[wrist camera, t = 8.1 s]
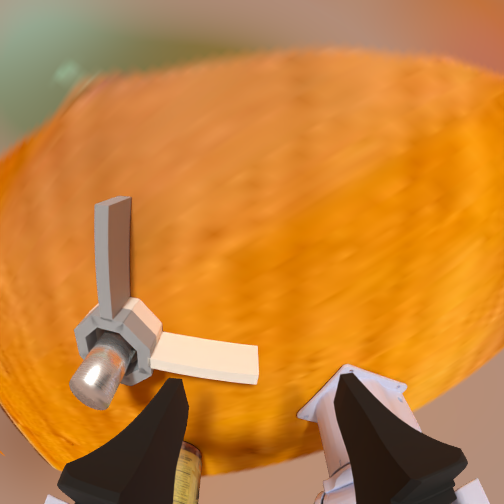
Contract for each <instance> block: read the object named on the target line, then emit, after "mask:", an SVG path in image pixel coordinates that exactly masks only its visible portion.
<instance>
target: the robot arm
mask: <svg viewBox="0 0 504 504" xmlns="http://www.w3.org/2000/svg"><path fill="white" fill-rule="evenodd" d="M350 370H351V371H350ZM406 388H407V385H406V384H405V383H402V382H398V381H395V380H392V379H389V378H386V377H383V376H380V375H378V374H375V373H372V372H369V371H366V370H363V369H361V368H358V367H355V366H352V365H350V364H345V365H343V366H342V367H341V368H340V369H339V370H338V372H337V373H336V374H335V375H334V376H333V377H332V378H331V379H330V380H329V381H328V382H327V384H326V385H325V386H324V387H323V388H322V389H321V390H320V391H319V392H318V393H317V394H316V395H315V396H314V397H313V398H312V399H311V400H310V401H309V402H308V403H307V404H306V405H305V406H304V407H303V408H302V409H301V410H300V411H299V412H298V413H297V417H298V418H300V419H304V420H308V421H313V422H317V423H318V426H319V431H320V435H321V440H322V444H323V449H324V454H325V458H326V462H327V468H328V472H329V477H330V478H329V479H327V480H325V481H323V486H324V491H322V492H320V493H319V494H318V496H317V497H316V499H315V502H314V504H490V503H489V501H488V499H487V497H486V494H485V492H484V490H483V488H482V486H481V484H480V482H479V480H478V478H476V479H474V480H472V481H471V482H469V483H467V484H465V485H464V486H462V487H461V488H459V489H457V490H456V491H454V490H453V487H454V486H455V482H454V480H453V479H454V478H455V477H456V476H458V475H459V474H460V473H461V472H462V471H463V470H464V469H465V468H466V466H467V464H468V462H467V459H466V457H465V456H464V454H463V452H462V450H461V449H460V448H457V447H454V446H451V445H448V444H445V443H442V442H440V441H437V440H435V439H433V438H431V437H429V436H427V435H425V434H423V433H422V431H421V429H420V427H419V425H418V423H417V421H416V419H415V417H414V415H413V413H412V411H411V409H410V407H409V406H408V404H407V402H406V400H405V398H404V396H403V395H402V393H403V392H404V391H405V390H406ZM188 410H189V405H188V402H187V398H186V394H185V390H184V386H183V382H182V379H176V378H169V379H167V381H166V382H165V383H164V385H163V386H162V387H161V389H160V390H159V391H158V393H157V394H156V395H155V397H154V398H153V399H152V400H151V401H150V403H149V404H148V405H147V406H146V407H145V409H144V410H143V411H142V412H141V413H140V414H139V415H138V416H137V417H136V418H135V419H134V420H133V421H132V422H131V423H130V424H129V425H128V426H127V427H126V428H125V429H124V430H123V431H122V432H120V433H119V434H118V435H117V436H115V437H114V438H113V439H111V440H110V441H109V442H107V443H106V444H104V445H103V446H101V447H100V448H98V449H96V450H95V451H93V452H91V453H89V454H88V455H86V456H84V457H81V458H79V459H77V460H75V461H72V462H70V463H67V464H66V465H65V467H64V469H63V471H62V474H61V476H60V479H59V481H58V484H57V486H58V487H59V489H60V490H61V491H62V492H64V493H65V494H66V495H67V496H69V497H70V498H71V499H72V500H74V501H75V504H173V496H174V484H175V475H176V467H177V462H178V458H179V454H180V450H181V446H182V442H183V438H184V434H185V430H186V426H187V419H188ZM44 504H69V503H67V502H65V501H63V500H60V499H58V498H56V497H54V496H52V495H50V494H49V495H48V496H47V498H46V501H45V503H44Z"/></svg>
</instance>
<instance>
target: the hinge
mask: <svg viewBox="0 0 504 504" xmlns="http://www.w3.org/2000/svg"><path fill="white" fill-rule="evenodd" d="M130 213H131V197H126V196H117V197H114V198H111V199H108V200H106V201H103V202H100V203H97V204H95V263H96V279H97V291H98V301H99V303H98V304H97V305H96V306H95V307H94V308H93V309H92V310H91V311H90V312H89V313H88V314H87V316H86V317H85V318H84V319H83V320H82V321H81V322H80V323H79V325H78V326H77V327H76V328H75V329H74V332H75V337H76V341H77V345H78V350H79V354H80V356H81V357H82V358H83V359H85V358H86V356H87V355H88V354H89V352H90V351H91V349H92V348H93V347H94V345H95V344H96V342H97V341H98V340H99V338H100V337H101V335H102V334H103V333H104V331H105V330H109V331H113V332H117V333H120V335H121V336H122V337H123V338H124V339H125V340H126V341H127V342H128V343H129V344H130V345H131V346H132V347H133V348H134V349H135V350H136V352H135V354H134V356H133V358H132V360H131V362H130V364H129V366H128V368H127V370H126V372H125V374H124V376H123V378H122V380H121V382H120V383H122V384H125V385H129V386H133V385H135V384H137V383H139V382H141V381H143V380H144V379H146V378H148V377H150V376H152V373H153V371H154V369H158V370H162V371H167V372H172V373H178V374H183V375H189V376H194V377H200V378H207V379H214V380H221V381H228V382H237V383H246V384H257V380H258V376H259V368H258V346H253V345H245V344H237V343H229V342H222V341H215V340H208V339H202V338H196V337H190V336H184V335H178V334H173V333H167V332H162V323H161V321H160V320H159V319H158V318H157V317H156V316H155V315H154V314H153V313H152V312H151V311H150V310H149V309H148V308H147V306H146V305H145V304H144V303H143V302H142V301H141V300H139V299H138V298H133V297H130V271H129V244H130Z"/></svg>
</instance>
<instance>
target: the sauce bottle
mask: <svg viewBox="0 0 504 504" xmlns="http://www.w3.org/2000/svg"><path fill="white" fill-rule="evenodd" d="M201 468H202V462H201V453H200V451H199V449H197V448H196V447H194V446H193V445H191V444H189V443H187V442H184V441H183V442H182V446H181V450H180V454H179V458H178V462H177V467H176V475H175V484H174V496H173V504H198V499H199V488H200V478H201Z"/></svg>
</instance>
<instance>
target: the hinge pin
mask: <svg viewBox="0 0 504 504" xmlns="http://www.w3.org/2000/svg"><path fill="white" fill-rule="evenodd" d="M135 352H136V350H135V349H134V348H133V347H132V346H131V345H130V344H129V343H128V342H127V341H126V340H125V339H124V338H123V337H122V336H121V335H120V333H117V332H113V331H109V330H105V331H104V333H103V334H102V335H101V337H100V338H99V340H98V341H97V342H96V344H95V345H94V347H93V348H92V349H91V351H90V352H89V354H88V355H87V356H86V358H85V359H84V361H83V362H82V364H81V365H80V367H79V368H78V370H77V371H76V373H75V374H74V376H73V377H72V379H71V380H70V382H69V386H70V389H71V391H72V392H73V394H74V395H75V396H76V397H77V398H78V399H79V400H80V401H81V402H82V403H84V404H85V405H87V406H89V407H91V408H93V409H97V410H105V409H107V408H108V407H109V405H110V403H111V401H112V398H113V396H114V394H115V392H116V390H117V388H118V386H119V384H120V382H121V380H122V378H123V376H124V374H125V372H126V370H127V368H128V366H129V364H130V362H131V360H132V358H133V356H134V354H135Z"/></svg>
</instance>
